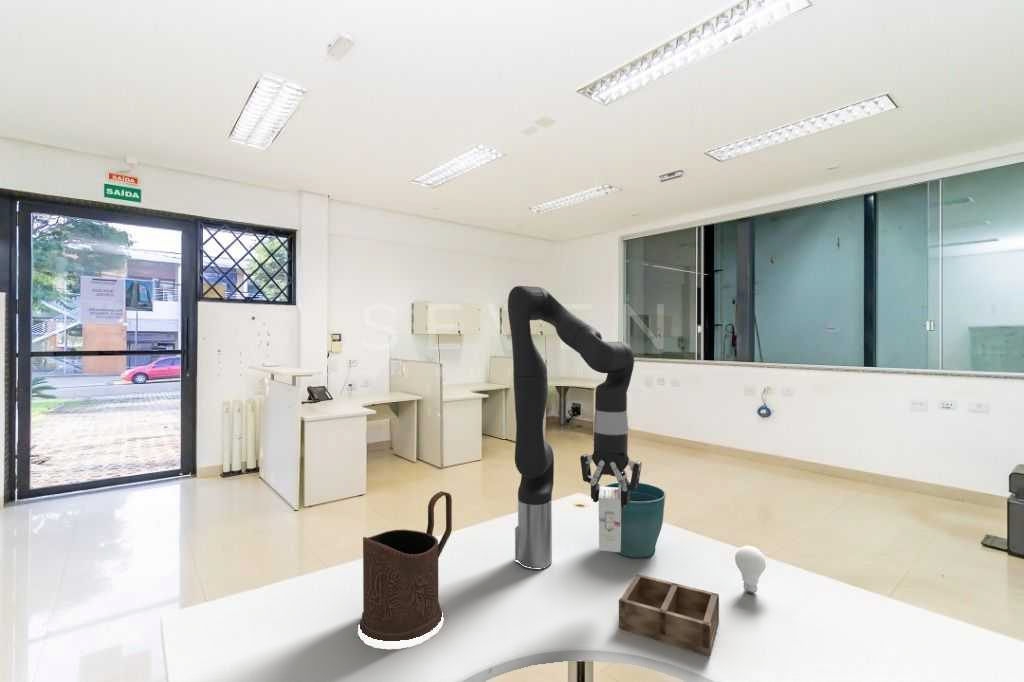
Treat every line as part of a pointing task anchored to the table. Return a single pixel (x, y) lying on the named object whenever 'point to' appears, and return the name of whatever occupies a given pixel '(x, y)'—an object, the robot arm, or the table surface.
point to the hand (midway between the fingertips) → (609, 503)
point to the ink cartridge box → (610, 519)
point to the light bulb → (750, 566)
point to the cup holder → (403, 580)
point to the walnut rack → (670, 613)
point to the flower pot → (641, 520)
